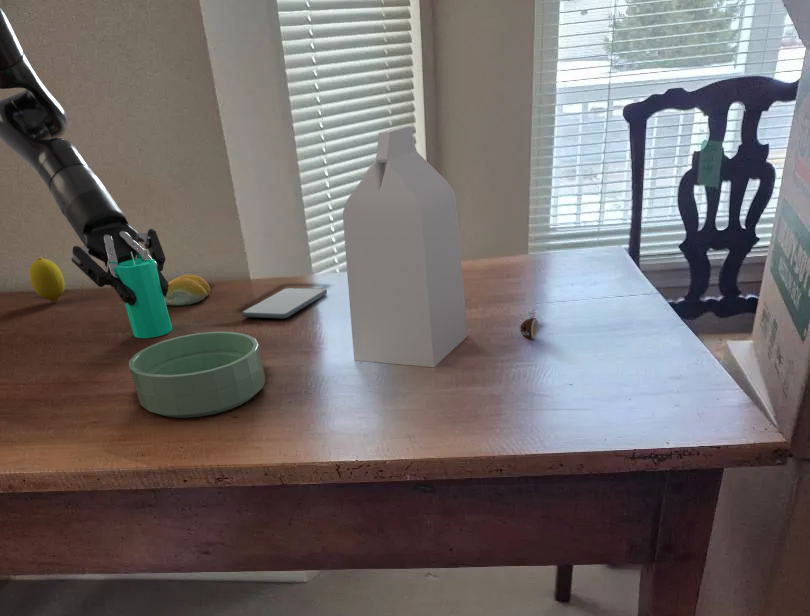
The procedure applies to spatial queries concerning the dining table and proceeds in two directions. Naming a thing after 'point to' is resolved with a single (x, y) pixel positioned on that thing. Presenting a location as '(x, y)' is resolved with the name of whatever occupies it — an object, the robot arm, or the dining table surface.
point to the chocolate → (530, 327)
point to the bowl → (198, 374)
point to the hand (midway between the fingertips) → (149, 297)
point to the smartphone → (284, 303)
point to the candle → (145, 298)
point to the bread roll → (186, 290)
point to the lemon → (47, 279)
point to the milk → (403, 259)
